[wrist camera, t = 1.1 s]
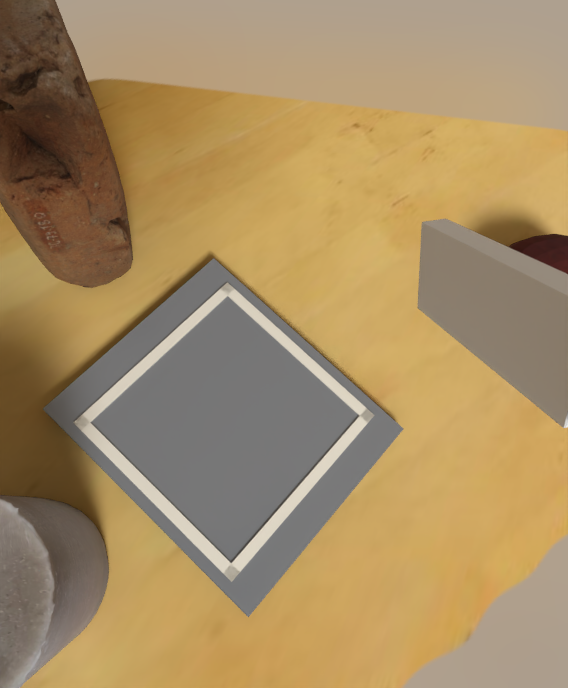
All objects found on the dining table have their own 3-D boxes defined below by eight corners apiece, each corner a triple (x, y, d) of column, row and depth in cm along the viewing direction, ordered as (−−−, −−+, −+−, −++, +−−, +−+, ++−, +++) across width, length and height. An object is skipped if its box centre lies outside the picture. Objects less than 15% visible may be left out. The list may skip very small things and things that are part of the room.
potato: (469, 258, 46) (504, 222, 41) (561, 252, 48) (607, 216, 42) (491, 338, 44) (531, 312, 39) (586, 329, 46) (638, 302, 40)
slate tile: (46, 411, 38) (41, 408, 37) (213, 263, 43) (213, 257, 42) (247, 614, 35) (248, 617, 34) (399, 430, 41) (404, 428, 40)
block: (21, 192, 43) (-129, -60, 24) (112, 169, 45) (36, -83, 26) (58, 307, 41) (-80, 123, 22) (152, 278, 42) (100, 83, 23)
